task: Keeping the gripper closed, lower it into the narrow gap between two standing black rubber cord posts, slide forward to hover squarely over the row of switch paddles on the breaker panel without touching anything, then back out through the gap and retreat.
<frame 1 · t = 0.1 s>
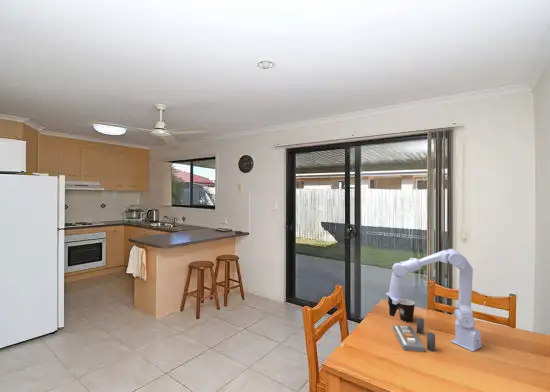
hand: (391, 312, 141), 11 cm above the table, tool pointing down, fingers open, 7 cm apart
breaker panel: (407, 339, 135), on the table
coffee mug: (405, 318, 157), on the table
left cord post: (431, 349, 126), on the table
right cord post: (420, 333, 141), on the table
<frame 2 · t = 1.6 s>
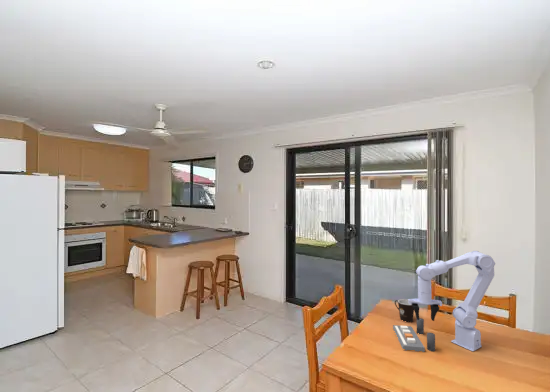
hand: (425, 319, 133), 10 cm above the table, tool pointing down, fingers open, 6 cm apart
nothing on the table moved.
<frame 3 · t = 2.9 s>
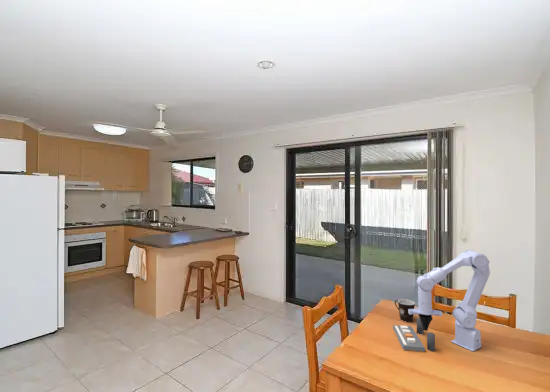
hand: (425, 329, 133), 5 cm above the table, tool pointing down, fingers closed
nothing on the table moved.
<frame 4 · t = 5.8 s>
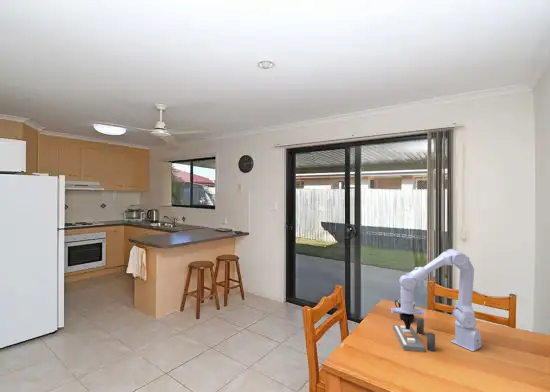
hand: (407, 328, 135), 5 cm above the table, tool pointing down, fingers closed
nothing on the table moved.
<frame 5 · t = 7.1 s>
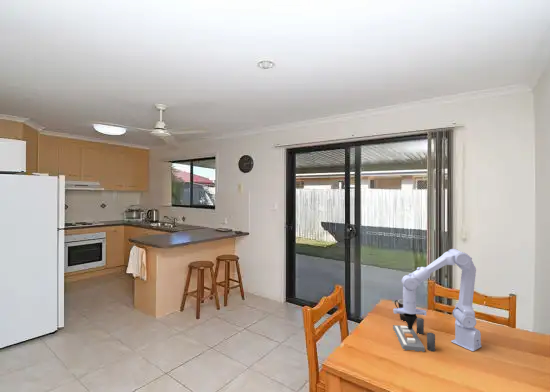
hand: (409, 328, 134), 5 cm above the table, tool pointing down, fingers closed
nothing on the table moved.
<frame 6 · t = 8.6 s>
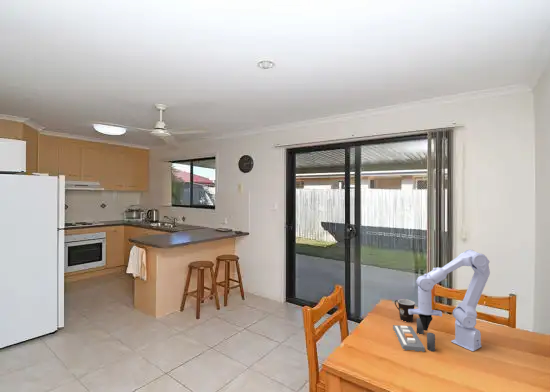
hand: (425, 329, 133), 5 cm above the table, tool pointing down, fingers closed
nothing on the table moved.
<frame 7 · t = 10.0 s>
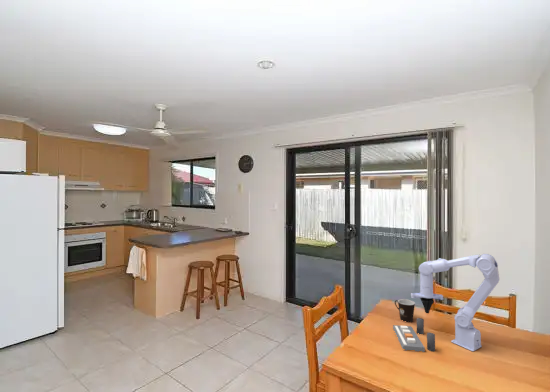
hand: (426, 312, 141), 10 cm above the table, tool pointing down, fingers closed
nothing on the table moved.
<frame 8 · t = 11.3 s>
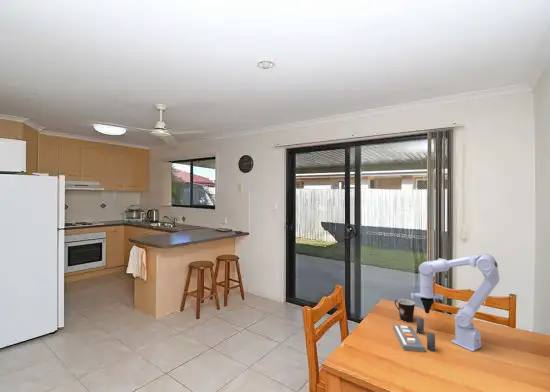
hand: (426, 312, 141), 10 cm above the table, tool pointing down, fingers closed
nothing on the table moved.
at the end: left cord post moved 0.0 cm from its start; right cord post moved 0.0 cm from its start; coffee mug moved 0.2 cm from its start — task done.
